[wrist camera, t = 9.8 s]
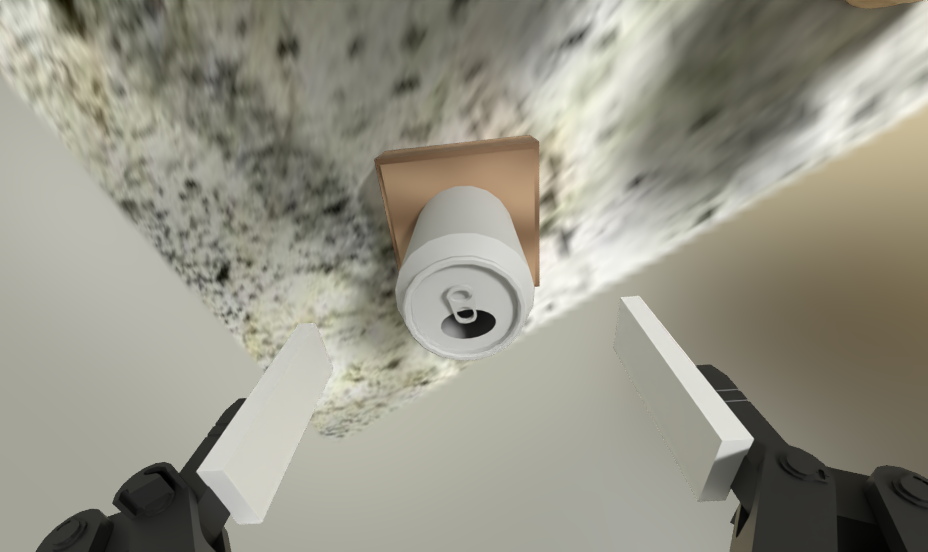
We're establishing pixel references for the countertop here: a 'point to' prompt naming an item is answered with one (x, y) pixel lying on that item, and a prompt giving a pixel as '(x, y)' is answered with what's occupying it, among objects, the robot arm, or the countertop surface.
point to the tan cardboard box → (463, 164)
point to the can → (464, 276)
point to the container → (877, 3)
